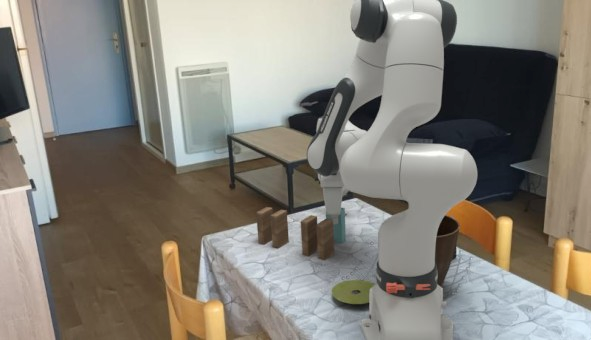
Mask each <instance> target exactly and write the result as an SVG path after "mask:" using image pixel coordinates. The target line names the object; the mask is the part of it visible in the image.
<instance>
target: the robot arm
mask: <svg viewBox="0 0 591 340" xmlns="http://www.w3.org/2000/svg"><path fill="white" fill-rule="evenodd" d="M349 17H350V18H349V19H350V29H351V31H352V32H353V34H354V35H355V37H356V38H358V39H359V42H358V45H357V49H356V53H355V56H354V59H353V61H352V62H351V65H350V66H349V68H348V70H347V72H346V73H345V75H344V76H343V78H341V80H339V81H338V83H337V84H336V86H335V87H334V89H333V91H332V94H331V96H330V98H329V101H328V103H327V106H326V108H325V111H324V113H323V115H322V116H320V117H319V118H318V119H317V122H316V129H315V131H316V133H315V134H314V135H313V137H312V139H311V141H310V142H309V144H308V147H307V150H306V160H307V164H308V165H309V167H310V168H311V170H312V171H314V172H315V173H316V174H317V173H318V179H319V180H318V181H320V184H319V185H320V188H322V194H323V200H324V201H323V202H324V206H325V208H324V209H325V214H326V213H327V215H331V218H332V219H333V224H338V215H340V213H341V208H342V202H343V196H342V193H343V188H344V186H345V187H346V188H347V189H348V190H349V191H348V192H351V193H355V194H357V195H361V196H365V197H369V198H374V199H375V198H376V199H388V200H399V201H401V200H402V201H406V202H407V204H408V209H406V210H403V211H401V212H398V213H395V214H393V215H391V216H389V217H387V218H386V219H385V220H384V221H383V222H382V223H381V224H380V225H379V228H378V230H377V231H378V232H377V242H378V243H377V245H378V246H377V248H378V250H377V251H378V255H377V256H378V259H377V262H376V268H375V276H376V282H375V283H374V284H375V285H374V286H373V287H372V288H371V289H370V293H369V302H368V303H369V307H368V308H369V310H368V312H369V315H368V316H369V317H367V318H364V319H362V320H360V329H361V332H362V334H363V337H364V339H365V340H454V322H453V320H451V317H450V316H448V315H447V314H444V313H443V309H447V306H448V305H447V303H448V302H447V301H446V300H443V299H444V297H443V296H444V288H443V287H442V286H439V285H438V284H437V278H438V272H437V265H436V263H435V246H436V237H437V231H438V228H439V225H440V223H441V221H442V219H443V218H444V216H445V215H447V213H448V212H450V211H451V209H452V208H454V207H455V206H456V205H458V204H459V203H461V202H463V201H464V200H466V199H467V198H468V197H469V196H471V194H472V192H473V191H474V190H475V189H474V188H475V187H476V184H477V181H478V168H477V164H476V161H475V159H474V157H473V155H471V153H470V152H469V151H468V149H465V148H460V147H458V146H457V147H456V146H453V145H449V144H445V143H444V144H443V143H425V142H422V143H421V142H407V139H408V136H409V135H410V133H411V131H413V130H414V129H415V128H416V127H420V126H421V125H422V126H423V125H424V124H426V123H428V122H429V121H431V120H433V119H434V118H435V117H436V116H437V115H438V113H440V110H441V107H442V95H443V81H444V67H445V58H444V56H445V55H444V54H445V51H444V49H445V48H446V47H447V46H448V45H450V43H452V40H453V39H454V36H455V33H456V30H457V26H458V25H457V24H458V15H457V11H456V9H455V7H454V5H453V4H452V3H450V2H448V1H445V0H354V1H353V4H352V6H351V8H350V16H349ZM380 96H381V98H380V99H381V101H380V104H379V105H380V106H379V110H378V112H377V114H376V116H375V119H374V121H373V123H371V126H370V128H369V129H368V130H366V129H361V128H359V127H358V126H356V125H354V124H353V123H352V122H351V121H350V120H349V119H350V117H351V116H352V114H353V113H355V111H357V109H359V108H360V107H362V106H363V105H365V104H366V103H368V102H370V101H372V100H374V99H375V98H378V97H380Z"/></svg>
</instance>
